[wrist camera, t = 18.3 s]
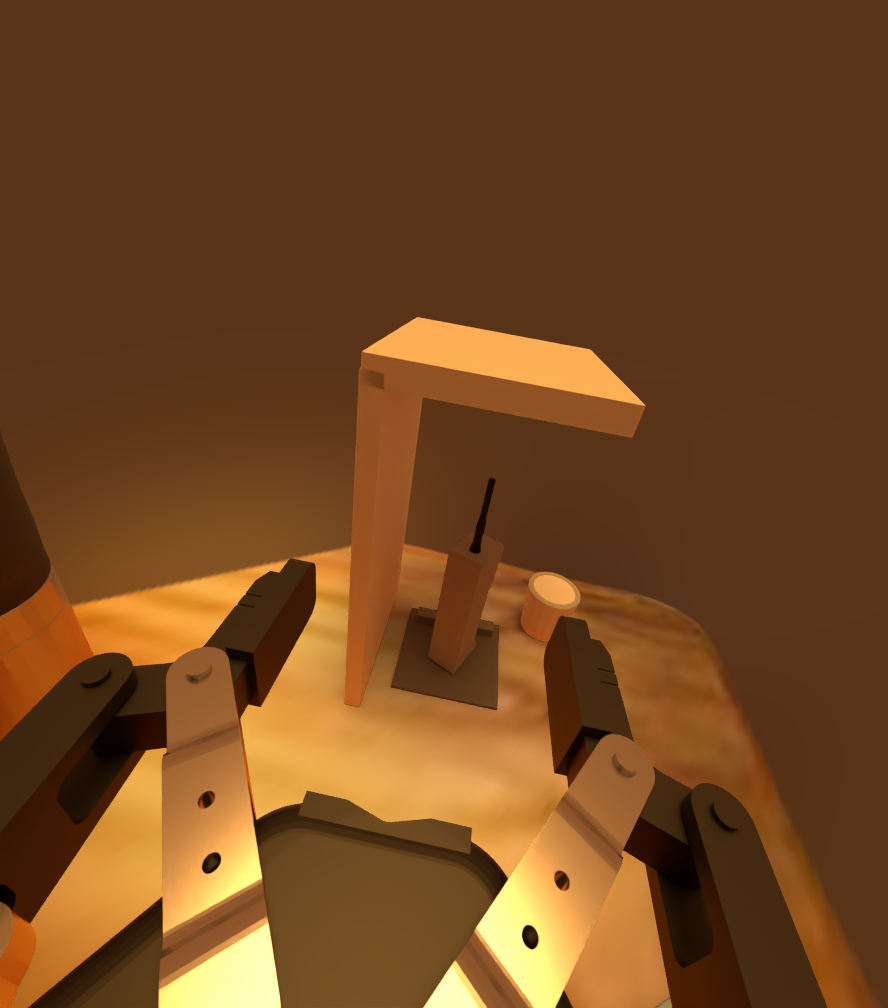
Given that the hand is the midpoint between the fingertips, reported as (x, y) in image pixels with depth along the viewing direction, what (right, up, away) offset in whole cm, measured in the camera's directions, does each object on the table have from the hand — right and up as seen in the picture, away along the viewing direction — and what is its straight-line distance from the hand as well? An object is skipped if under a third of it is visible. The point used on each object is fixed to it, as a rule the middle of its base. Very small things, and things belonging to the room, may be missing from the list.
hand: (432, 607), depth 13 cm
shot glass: (+14, -14, +44) cm, 48 cm away
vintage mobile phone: (+1, -15, +37) cm, 40 cm away
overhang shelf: (-1, -15, +37) cm, 40 cm away
